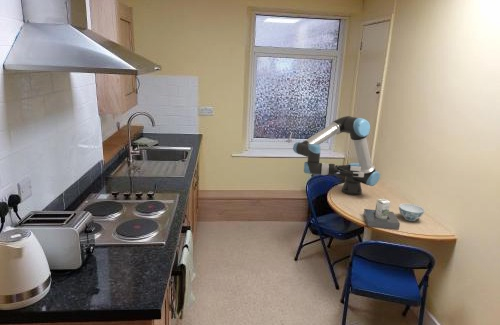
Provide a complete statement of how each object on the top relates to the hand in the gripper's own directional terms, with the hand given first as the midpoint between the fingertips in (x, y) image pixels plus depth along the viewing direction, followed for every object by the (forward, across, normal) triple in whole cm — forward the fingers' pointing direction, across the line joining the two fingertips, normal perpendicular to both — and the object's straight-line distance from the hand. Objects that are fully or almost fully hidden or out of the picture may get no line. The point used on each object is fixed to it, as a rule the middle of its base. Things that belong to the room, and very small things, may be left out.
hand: (362, 171), depth 219 cm
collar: (+13, +8, -29) cm, 33 cm away
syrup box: (+13, +8, -30) cm, 33 cm away
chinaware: (+33, -2, -30) cm, 45 cm away
